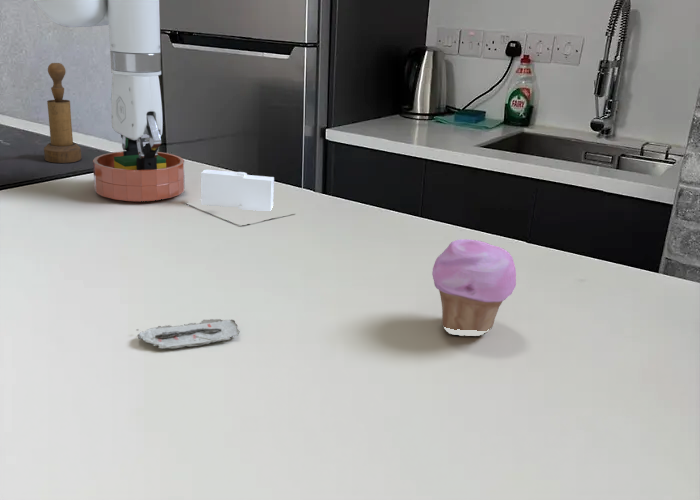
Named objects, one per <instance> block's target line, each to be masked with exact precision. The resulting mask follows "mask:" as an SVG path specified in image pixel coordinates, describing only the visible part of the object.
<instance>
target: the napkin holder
mask: <svg viewBox="0 0 700 500" xmlns="http://www.w3.org/2000/svg"><path fill="white" fill-rule="evenodd" d="M274 190H275V177H274V176H265V175H253V174H252V175H251V174H248V173H247V172H244V171H227V170H215V169H204V170H203V171H201V172H200V200H201V205H207V206H208V205H209V206H220V207H221V206H222V207H238V209H242V210H253V211H255V210H256V211H271V210H272V208H273V206H274V193H275V191H274ZM187 204H188V203H187Z"/></svg>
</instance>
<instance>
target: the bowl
mask: <svg viewBox="0 0 700 500" xmlns="http://www.w3.org/2000/svg"><path fill="white" fill-rule="evenodd" d="M123 151H124V150H123ZM123 151H114V152H107V153H103V154H100V155H98V156H95V157H94V158H93V160H92V170H93V171H92V172H93V188H94V191H95V193H96V194H97V195H99V196H101V197H104V198H108V199H112V200H116V201H122V202H131V203H133V202H134V203H135V202H136V203H142V202H143V201H144V202H143V203H145V201H147V202H156V201H162V200H166V199H171V198H175V197H177V196H178V197H179V196H180V195H181V194H183V193H184V192H185V187H186V185H185V178H186V177H185V160H184V158H182V157H181V156H179V155H176V154H173V153H169V152H162V151H157V153H158V155H159V156H161V157H163V158H165V159H166V168H161V169H151V170H127V169H118V168H114V157H118V156H123ZM161 199H162V200H161ZM155 200H156V201H155ZM141 201H142V202H141Z"/></svg>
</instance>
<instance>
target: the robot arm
mask: <svg viewBox="0 0 700 500" xmlns="http://www.w3.org/2000/svg"><path fill="white" fill-rule="evenodd" d="M33 2H34V3H35V5H36V6H37V7H38V8H39V10H40V11H41V12H42V13H43V15H45V17H47V18H48V19H49V20H50V21H52V22H53V23H55V24H56V25H59V26H61V27H65V28H86V27H87V28H90V27H103V26H108V37H109V50H110V51H109V53H110V55H109V56H110V70H111V71H110V72H111V74H112V79H111V97H110V99H111V100H110V104H111V111H110V112H111V113H110V115H111V128H112V130H113V131H114V132H115V133H117V134H119V135H120V138H121V139H122V140H121V147H122V150H123V156H130V155H139V158H136V163H137V170H151V169H157V156H158V153H157V152H158V150H159V147H160V146H161V145H162V138H161V137H162V135H163V128H164V127H163V126H164V125H163V124H164V122H163V103H162V93H161V85H160V78H159V76H161V75H162V53H161V52H162V51H161V17H160V0H33ZM144 135H147V136H148V137H143V136H144ZM146 142H147V143H146ZM144 143H145V144H144Z"/></svg>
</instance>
